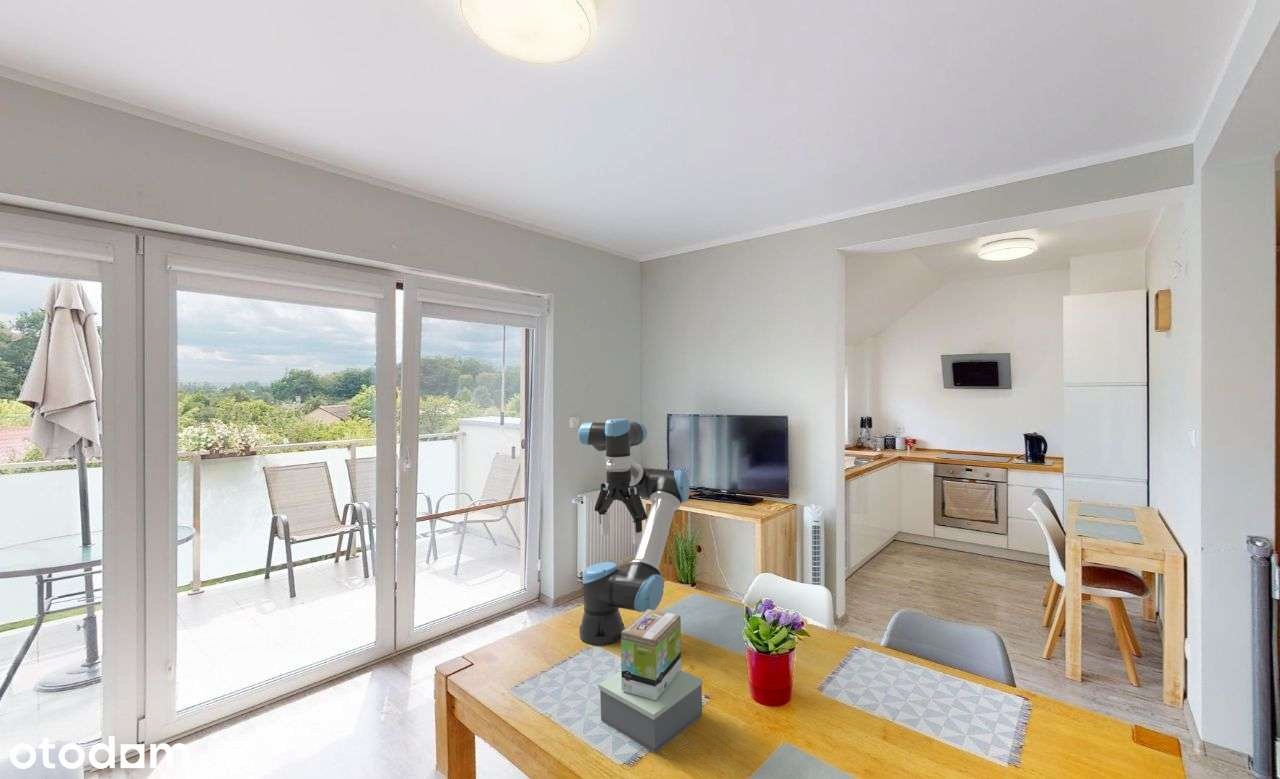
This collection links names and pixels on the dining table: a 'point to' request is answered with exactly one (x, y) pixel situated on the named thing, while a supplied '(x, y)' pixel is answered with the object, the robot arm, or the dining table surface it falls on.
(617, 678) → the lid
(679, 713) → the storage box
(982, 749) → the dining table surface
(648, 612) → the tea box
